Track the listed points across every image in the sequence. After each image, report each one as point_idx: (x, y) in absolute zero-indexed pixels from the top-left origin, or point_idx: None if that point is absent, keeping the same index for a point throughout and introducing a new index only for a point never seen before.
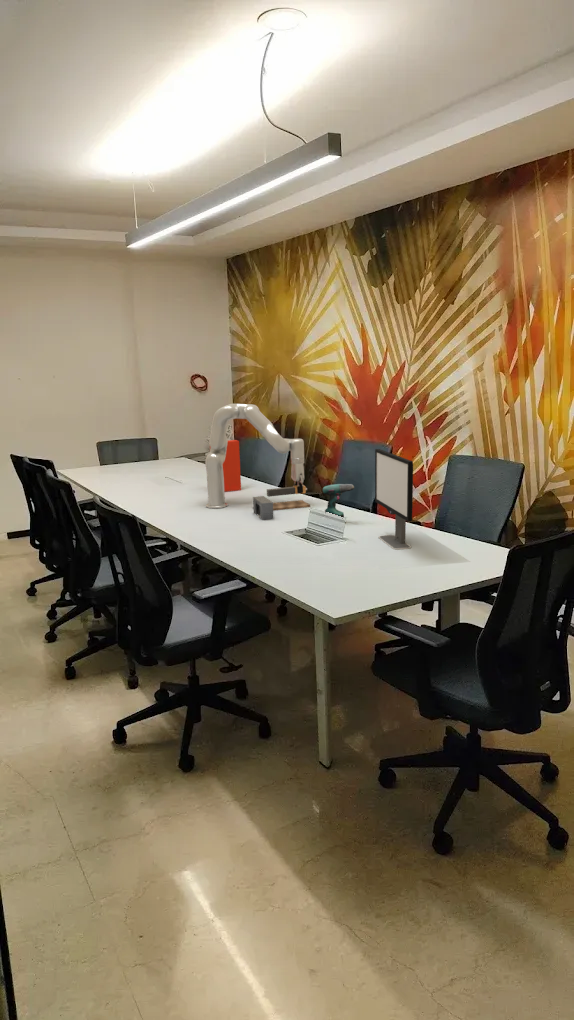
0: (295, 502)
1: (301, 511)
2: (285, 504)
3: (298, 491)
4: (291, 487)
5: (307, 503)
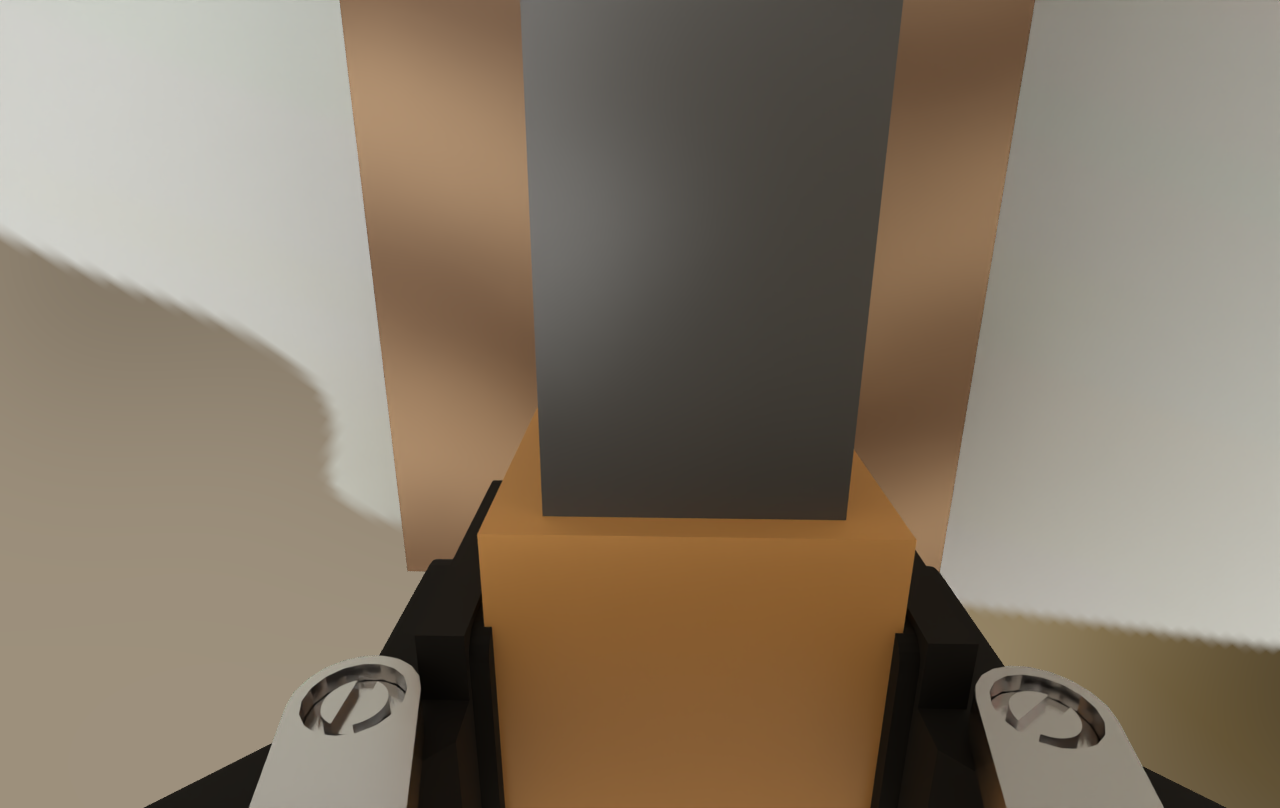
0: None
1: (48, 249)
2: None
3: None
4: (688, 358)
5: None
